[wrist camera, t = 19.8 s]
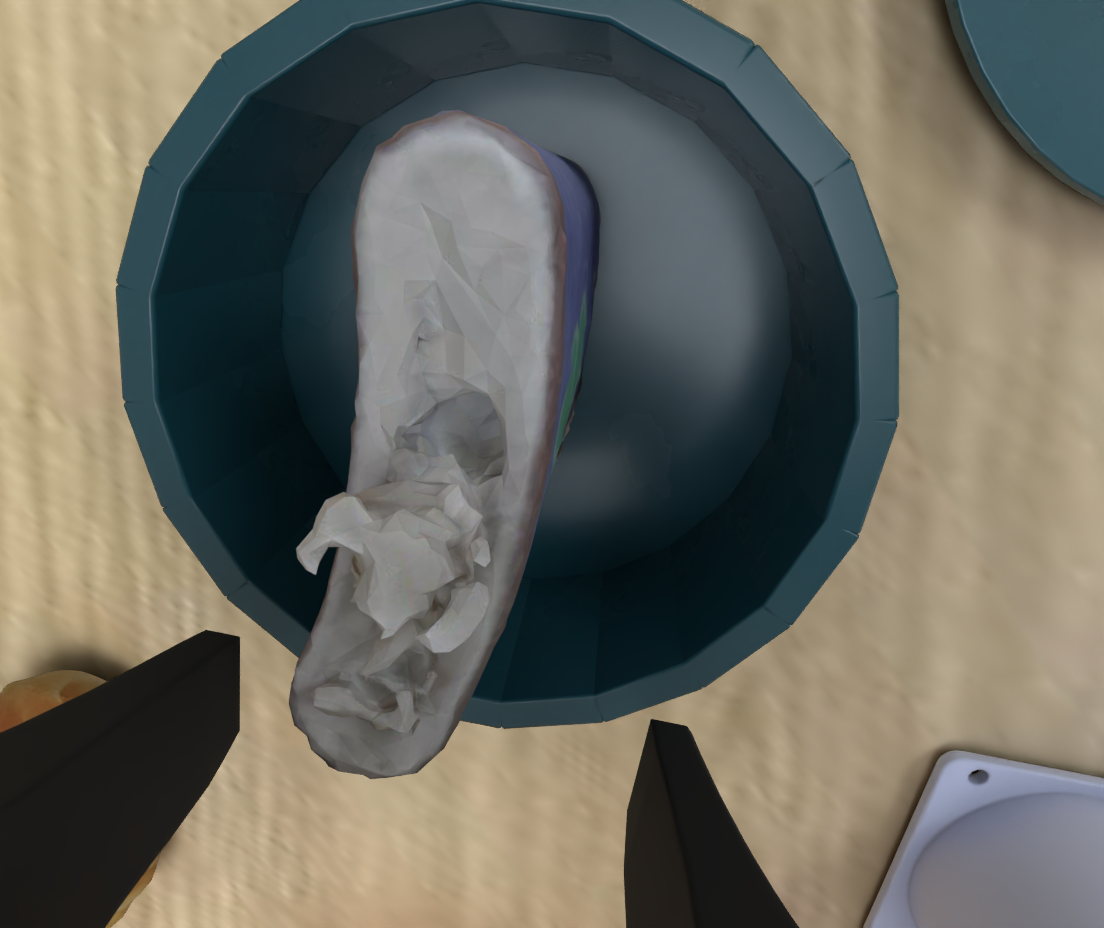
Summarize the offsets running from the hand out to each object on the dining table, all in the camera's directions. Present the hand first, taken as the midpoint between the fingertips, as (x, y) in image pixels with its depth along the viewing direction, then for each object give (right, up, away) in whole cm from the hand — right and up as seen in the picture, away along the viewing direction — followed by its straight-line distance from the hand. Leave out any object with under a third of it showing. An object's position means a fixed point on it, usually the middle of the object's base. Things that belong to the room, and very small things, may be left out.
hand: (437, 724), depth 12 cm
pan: (+1, +7, +5) cm, 9 cm away
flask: (+1, +7, +5) cm, 9 cm away
